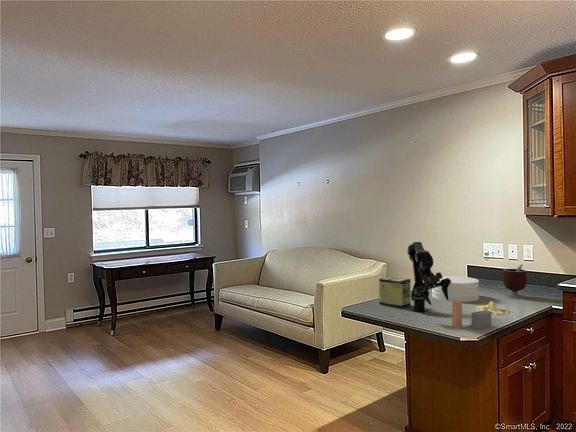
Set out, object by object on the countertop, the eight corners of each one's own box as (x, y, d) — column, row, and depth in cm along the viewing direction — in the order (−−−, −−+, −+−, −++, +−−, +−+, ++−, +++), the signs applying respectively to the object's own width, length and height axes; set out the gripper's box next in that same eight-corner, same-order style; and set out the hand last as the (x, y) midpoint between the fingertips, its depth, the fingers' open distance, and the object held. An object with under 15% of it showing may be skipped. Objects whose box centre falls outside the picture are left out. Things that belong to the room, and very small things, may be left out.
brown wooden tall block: (452, 326, 212) (452, 301, 211) (457, 325, 214) (457, 300, 213) (456, 327, 210) (456, 302, 209) (461, 326, 212) (461, 301, 211)
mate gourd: (519, 300, 269) (519, 267, 268) (498, 296, 280) (498, 265, 280) (533, 297, 277) (533, 265, 277) (511, 293, 289) (511, 263, 288)
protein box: (402, 308, 251) (402, 281, 250) (378, 304, 261) (378, 278, 261) (411, 305, 258) (411, 278, 258) (387, 301, 269) (387, 276, 268)
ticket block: (457, 328, 208) (457, 313, 208) (480, 323, 217) (480, 309, 217) (468, 331, 203) (468, 316, 203) (491, 326, 212) (491, 311, 212)
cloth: (479, 306, 256) (479, 295, 256) (514, 311, 244) (514, 300, 244) (465, 313, 240) (465, 302, 239) (502, 319, 227) (502, 307, 227)
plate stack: (450, 291, 299) (449, 274, 299) (488, 298, 276) (488, 280, 275) (422, 296, 284) (422, 278, 283) (460, 304, 260) (460, 284, 260)
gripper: (413, 273, 220) (426, 302, 213) (447, 263, 222) (461, 292, 215) (408, 281, 230) (420, 309, 223) (441, 271, 232) (454, 299, 225)
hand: (439, 302), depth 221 cm, fingers open, 9 cm apart
